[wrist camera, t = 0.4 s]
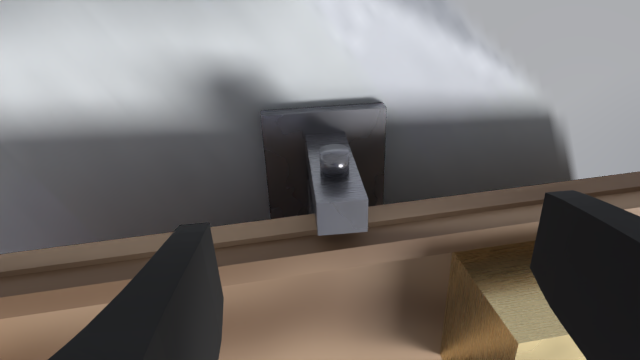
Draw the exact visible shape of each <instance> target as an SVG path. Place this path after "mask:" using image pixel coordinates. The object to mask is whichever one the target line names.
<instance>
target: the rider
mask: <svg viewBox="0 0 640 360" xmlns="http://www.w3.org/2000/svg"><path fill="white" fill-rule="evenodd" d="M534 245H535V240H534V241H528V242H521V243H514V244H507V245H501V246H494V247H487V248H480V249H473V250H467V251H460V252H453V253H452V259H451V268H450V276H449V284H448V292H447V300H446V308H445V316H444V325H443V333H442V341H441V349H440V356H441V358H442V360H587V359H586V358H585V357H584V355H583V354H582V352H581V351H580V350H579V348H578V347H577V345H576V344H575V343H574V341H573V340H572V338H571V337H570V335H569V334H568V333H567V331H566V330H565V328H564V327H563V325H562V324H561V323H560V321H559V320H558V318H557V317H556V315H555V314H554V312H553V311H552V309H551V308H550V306H549V304H548V303H547V301H546V299H545V297H544V295H543V293H542V291H541V290H540V288H539V285H538V283H537V281H536V279H535V277H534V275H533V273H532V271H531V269H530V264H531V259H532V254H533V249H534Z"/></svg>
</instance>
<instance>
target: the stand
mask: <svg viewBox="0 0 640 360" xmlns="http://www.w3.org/2000/svg"><path fill="white" fill-rule="evenodd" d="M261 124H262V134H263V143H264V153H265V163H266V173H267V183H268V193H269V203H270V213H271V219H277V218H285V217H292V216H300V215H308V214H315V220H316V227H317V234H318V236H322V235H334V234H346V233H358V232H368V207H370V206H377V205H383V193H384V163H385V134H386V106H385V105H384V103H371V104H355V105H340V106H325V107H309V108H294V109H279V110H263V111H261Z"/></svg>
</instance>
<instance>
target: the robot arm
mask: <svg viewBox="0 0 640 360" xmlns="http://www.w3.org/2000/svg"><path fill="white" fill-rule="evenodd" d="M530 269H531V271H532V273H533V275H534V277H535V279H536V281H537V283H538V285H539V288H540V290H541V291H542V293H543V295H544V297H545V299H546V301H547V303H548V304H549V306H550V308H551V309H552V311H553V312H554V314H555V315H556V317H557V318H558V320H559V321H560V323H561V324H562V325H563V327H564V328H565V330H566V331H567V333H568V334H569V335H570V337H571V338H572V340H573V341H574V343H575V344H576V345H577V347H578V348H579V350H580V351H581V352H582V354H583V355H584V357H585V358H586V359H587V360H640V216H638V215H635V214H633V213H631V212H628V211H626V210H624V209H621V208H619V207H617V206H614V205H612V204H609V203H607V202H605V201H602V200H600V199H597V198H595V197H592V196H589V195H586V194H584V193H581V192H577V191H574V190H567V191H556V192H545V197H544V201H543V206H542V211H541V216H540V221H539V225H538V230H537V235H536V240H535V245H534V249H533V254H532V259H531V264H530ZM223 304H224V297H223V291H222V286H221V281H220V276H219V270H218V265H217V260H216V255H215V249H214V244H213V239H212V234H211V228H210V223H200V224H189V225H180V226H179V227H178V228H177V229H176V230H175V231H174V232H173V233H172V235H171V236H170V237H169V238H168V239H167V240H166V241H165V242H164V244H163V245H162V246H161V247H160V248H159V249H158V251H157V252H156V253H155V254H154V255H153V256H152V257H151V259H150V260H149V261H148V262H147V263H146V264H145V266H144V267H143V268H142V269H141V270H140V271H139V272H138V273H137V274H136V275H135V277H134V278H133V279H132V280H131V281H130V282H129V283H128V284H127V285H126V286H125V287H124V289H123V290H122V291H121V292H120V293H119V294H118V295H117V296H116V297H115V298H114V299H113V300H112V301H111V302H110V303H109V304H108V305H107V306H106V307H105V308H104V309H103V310H102V311H101V312H100V313H99V314H98V315H97V316H96V317H95V318H94V319H93V320H92V321H91V322H90V323H89V324H88V325H87V326H86V327H84V328H83V329H82V330H81V331H80V332H79V333H78V334H77V335H76V336H75V337H73V338H72V339H71V340H70V341H69V342H68V343H67V344H66V345H64V346H63V347H62V348H61V349H60V350H58V351H57V352H56V353H55V354H54V355H53V356H51V357H50V358H49V359H48V360H218V359H219V353H220V347H221V341H222V325H223Z"/></svg>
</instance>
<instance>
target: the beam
mask: <svg viewBox="0 0 640 360" xmlns="http://www.w3.org/2000/svg"><path fill="white" fill-rule="evenodd" d="M567 190H574V191H577V192H581V193H584V194H586V195H589V196H592V197H595V198H597V199H600V200H602V201H605V202H607V203H609V204H612V205H614V206H617V207H619V208H621V209H624V210H626V211H628V212H631V213H633V214H635V215H638V216H640V172H633V173H625V174H617V175H609V176H602V177H594V178H586V179H578V180H571V181H563V182H555V183H548V184H540V185H532V186H524V187H517V188H509V189H501V190H493V191H486V192H478V193H470V194H462V195H455V196H447V197H439V198H431V199H424V200H416V201H408V202H401V203H393V204H385V205H377V206H370V207H368V232H358V233H346V234H334V235H322V236H318V234H317V227H316V220H315V214H308V215H300V216H292V217H285V218H277V219H269V220H261V221H254V222H246V223H238V224H230V225H223V226H215V227H210V228H211V234H212V239H213V244H214V249H215V255H216V260H217V265H218V270H219V276H220V281H221V286H222V291H223V297H224V304H223V325H222V341H221V347H220V353H219V359H218V360H442V358H441V356H440V349H441V341H442V333H443V325H444V316H445V308H446V300H447V292H448V284H449V276H450V268H451V259H452V253H453V252H460V251H467V250H473V249H480V248H487V247H494V246H501V245H507V244H514V243H521V242H528V241H534V240H536V235H537V230H538V225H539V221H540V216H541V211H542V206H543V201H544V197H545V192H556V191H567ZM172 233H173V232H168V233H161V234H153V235H145V236H138V237H130V238H122V239H114V240H107V241H99V242H91V243H83V244H76V245H68V246H60V247H52V248H45V249H37V250H29V251H21V252H14V253H6V254H0V360H48V359H49V358H50V357H51V356H53V355H54V354H55V353H56V352H57V351H58V350H60V349H61V348H62V347H63V346H64V345H66V344H67V343H68V342H69V341H70V340H71V339H72V338H73V337H75V336H76V335H77V334H78V333H79V332H80V331H81V330H82V329H83V328H84V327H86V326H87V325H88V324H89V323H90V322H91V321H92V320H93V319H94V318H95V317H96V316H97V315H98V314H99V313H100V312H101V311H102V310H103V309H104V308H105V307H106V306H107V305H108V304H109V303H110V302H111V301H112V300H113V299H114V298H115V297H116V296H117V295H118V294H119V293H120V292H121V291H122V290H123V289H124V287H125V286H126V285H127V284H128V283H129V282H130V281H131V280H132V279H133V278H134V277H135V275H136V274H137V273H138V272H139V271H140V270H141V269H142V268H143V267H144V266H145V264H146V263H147V262H148V261H149V260H150V259H151V257H152V256H153V255H154V254H155V253H156V252H157V251H158V249H159V248H160V247H161V246H162V245H163V244H164V242H165V241H166V240H167V239H168V238H169V237H170V236H171V235H172Z"/></svg>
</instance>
